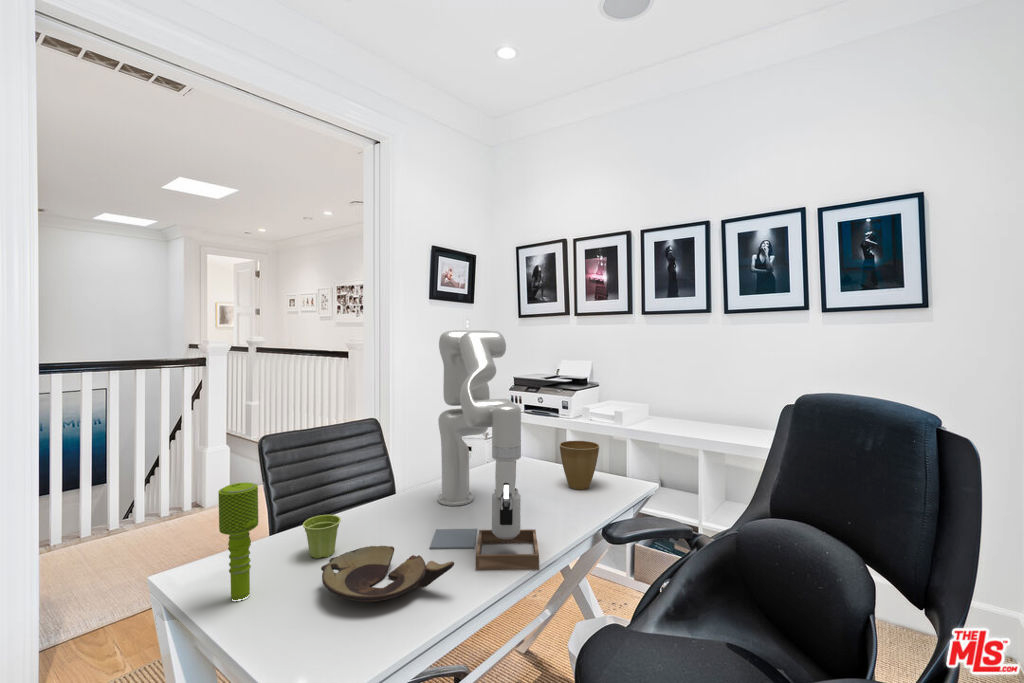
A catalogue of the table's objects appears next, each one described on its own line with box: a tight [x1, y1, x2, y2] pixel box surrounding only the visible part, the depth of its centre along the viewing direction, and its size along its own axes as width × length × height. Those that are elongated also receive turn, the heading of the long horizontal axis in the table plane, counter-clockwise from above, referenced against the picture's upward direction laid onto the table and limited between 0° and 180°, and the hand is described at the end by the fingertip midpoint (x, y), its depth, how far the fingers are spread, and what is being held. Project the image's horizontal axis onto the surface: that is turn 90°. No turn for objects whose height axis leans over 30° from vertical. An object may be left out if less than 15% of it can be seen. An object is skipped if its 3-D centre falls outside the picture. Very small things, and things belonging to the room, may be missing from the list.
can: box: [491, 487, 521, 539], centre depth 128 cm, size 8×8×12 cm
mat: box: [429, 528, 478, 550], centre depth 137 cm, size 12×12×1 cm
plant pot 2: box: [559, 440, 600, 491], centre depth 182 cm, size 15×15×16 cm
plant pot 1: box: [302, 514, 342, 559], centre depth 129 cm, size 9×9×9 cm
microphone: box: [217, 482, 259, 600], centre depth 108 cm, size 8×8×25 cm
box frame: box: [475, 528, 540, 571], centre depth 127 cm, size 16×16×4 cm
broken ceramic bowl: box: [320, 545, 455, 602], centre depth 110 cm, size 22×30×8 cm
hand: (506, 517), depth 128 cm, fingers closed on can, 7 cm apart
